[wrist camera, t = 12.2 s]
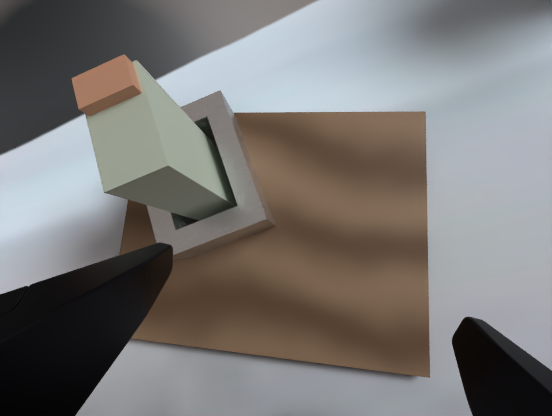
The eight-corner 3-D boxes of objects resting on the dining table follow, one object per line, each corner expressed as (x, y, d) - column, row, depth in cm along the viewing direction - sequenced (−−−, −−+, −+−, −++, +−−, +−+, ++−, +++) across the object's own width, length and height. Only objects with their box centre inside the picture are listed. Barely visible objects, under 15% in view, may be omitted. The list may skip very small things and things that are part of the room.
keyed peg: (240, 208, 22) (160, 160, 11) (206, 222, 22) (92, 188, 11) (219, 150, 23) (127, 50, 12) (187, 163, 23) (67, 78, 12)
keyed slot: (275, 225, 21) (266, 218, 18) (188, 258, 22) (161, 259, 18) (236, 117, 23) (220, 90, 20) (157, 150, 24) (126, 130, 20)
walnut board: (424, 371, 19) (429, 377, 18) (115, 331, 23) (106, 335, 22) (420, 117, 22) (425, 111, 21) (148, 118, 26) (142, 113, 25)
